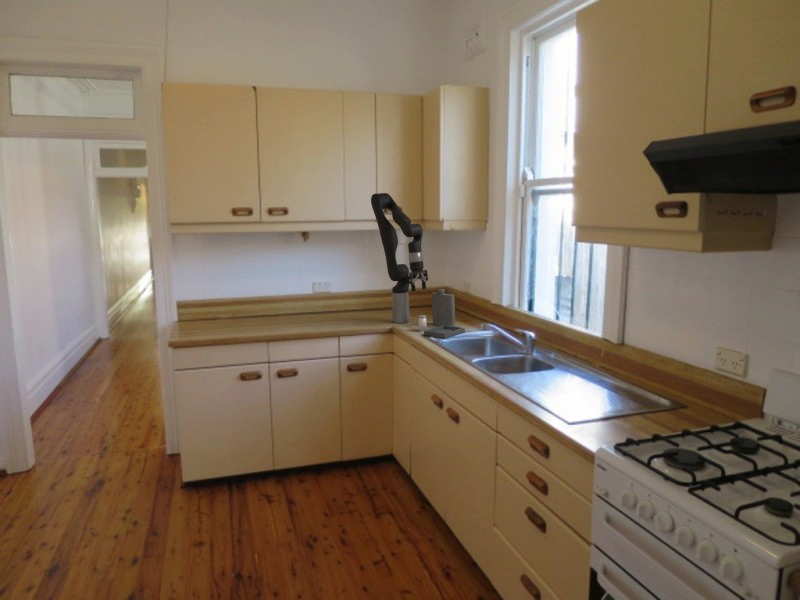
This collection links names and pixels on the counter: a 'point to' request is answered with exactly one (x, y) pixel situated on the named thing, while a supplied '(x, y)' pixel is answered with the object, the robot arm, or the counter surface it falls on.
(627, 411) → the counter surface
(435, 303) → the hip flask
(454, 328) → the tray
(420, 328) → the shaker
